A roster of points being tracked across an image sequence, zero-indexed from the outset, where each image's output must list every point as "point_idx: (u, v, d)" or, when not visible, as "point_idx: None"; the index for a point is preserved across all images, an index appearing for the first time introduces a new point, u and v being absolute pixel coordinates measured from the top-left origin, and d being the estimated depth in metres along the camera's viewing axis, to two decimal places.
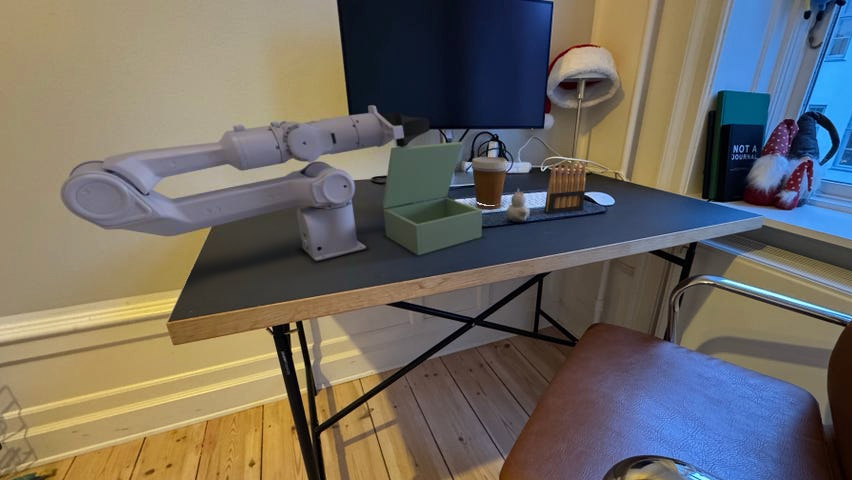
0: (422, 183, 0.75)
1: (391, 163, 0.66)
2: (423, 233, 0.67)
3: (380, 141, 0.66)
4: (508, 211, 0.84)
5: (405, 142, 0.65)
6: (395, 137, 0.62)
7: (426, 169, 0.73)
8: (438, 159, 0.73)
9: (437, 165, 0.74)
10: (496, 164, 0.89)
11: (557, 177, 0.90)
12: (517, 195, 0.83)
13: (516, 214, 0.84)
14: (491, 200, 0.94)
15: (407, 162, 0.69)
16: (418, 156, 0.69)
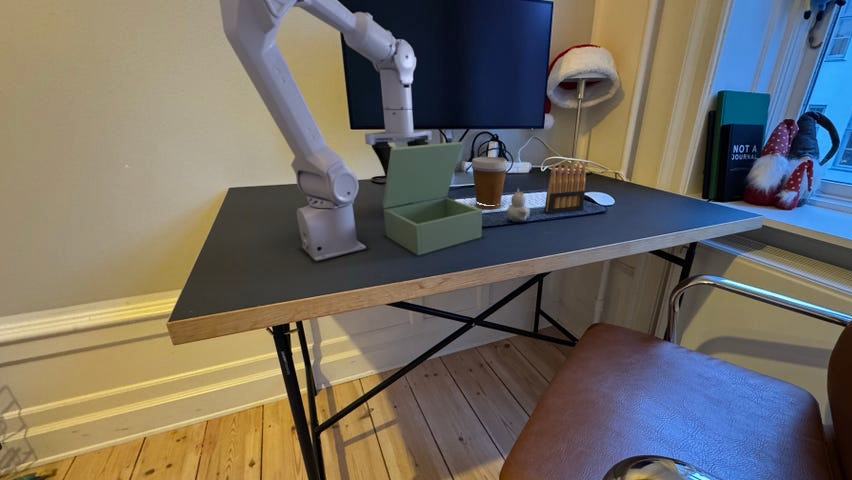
0: (422, 183, 0.75)
1: (391, 163, 0.66)
2: (423, 233, 0.67)
3: (413, 131, 0.76)
4: (508, 211, 0.84)
5: (427, 144, 0.79)
6: (430, 131, 0.80)
7: (426, 169, 0.73)
8: (438, 159, 0.73)
9: (437, 165, 0.74)
10: (496, 164, 0.89)
11: (557, 177, 0.90)
12: (517, 195, 0.83)
13: (516, 214, 0.84)
14: (491, 200, 0.94)
15: (407, 162, 0.69)
16: (418, 156, 0.69)
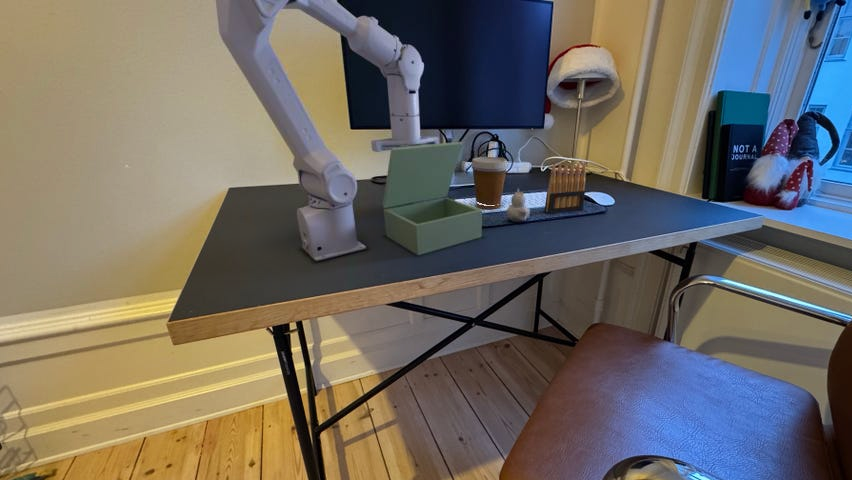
0: (422, 183, 0.75)
1: (391, 163, 0.66)
2: (423, 233, 0.67)
3: (420, 137, 0.75)
4: (508, 211, 0.84)
5: None
6: (437, 138, 0.79)
7: (426, 169, 0.73)
8: (438, 159, 0.73)
9: (437, 165, 0.74)
10: (496, 164, 0.89)
11: (557, 177, 0.90)
12: (517, 195, 0.83)
13: (516, 214, 0.84)
14: (491, 200, 0.94)
15: (407, 162, 0.69)
16: (418, 156, 0.69)
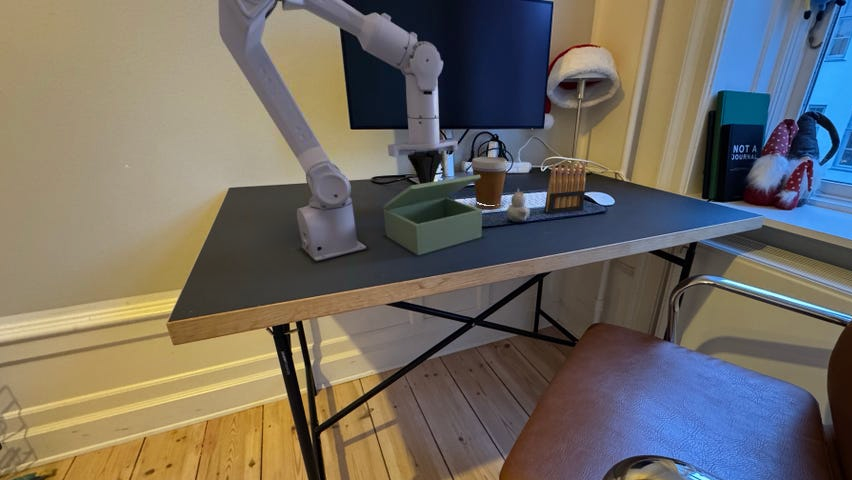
0: (427, 196, 0.74)
1: (405, 193, 0.65)
2: (423, 233, 0.67)
3: (439, 141, 0.70)
4: (508, 211, 0.84)
5: None
6: None
7: (436, 191, 0.72)
8: (451, 186, 0.72)
9: (448, 188, 0.73)
10: (496, 164, 0.89)
11: (557, 177, 0.90)
12: (517, 195, 0.83)
13: (516, 214, 0.84)
14: (491, 200, 0.94)
15: (421, 191, 0.68)
16: (434, 188, 0.68)
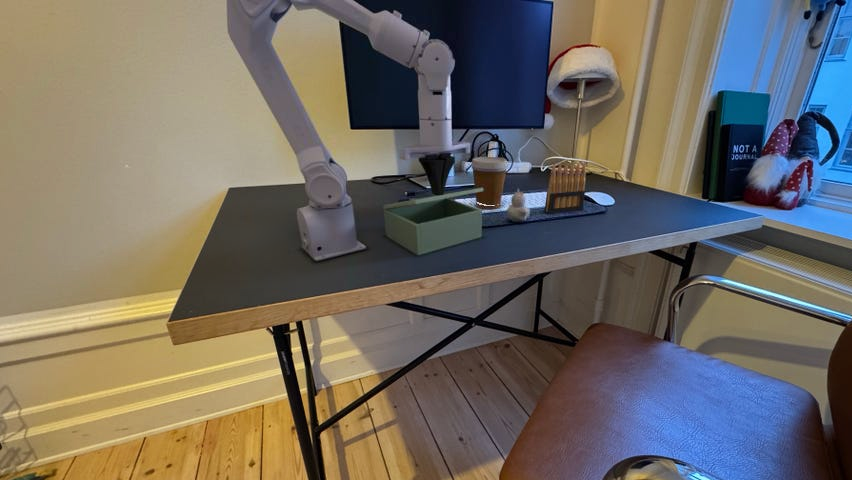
0: None
1: None
2: (423, 233, 0.67)
3: (451, 143, 0.67)
4: (508, 211, 0.84)
5: None
6: None
7: None
8: None
9: None
10: (496, 164, 0.89)
11: (557, 177, 0.90)
12: (517, 195, 0.83)
13: (516, 214, 0.84)
14: (491, 200, 0.94)
15: None
16: None
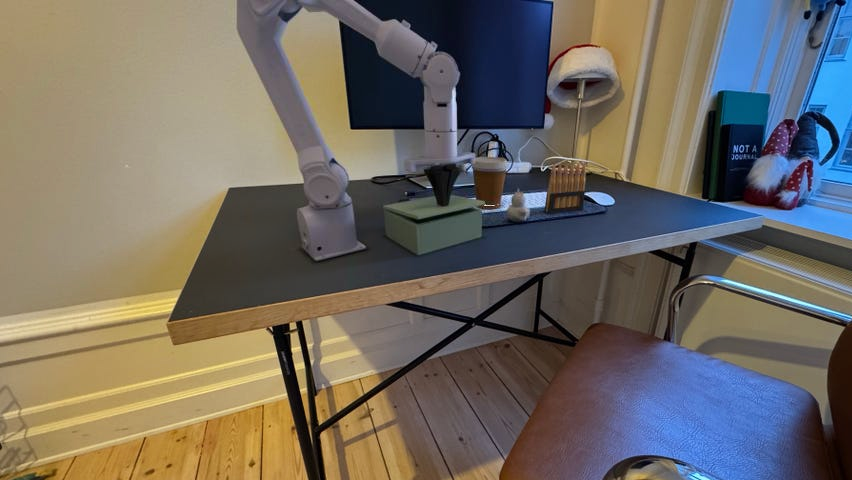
0: None
1: (410, 216, 0.66)
2: (423, 233, 0.67)
3: (456, 155, 0.67)
4: (508, 211, 0.84)
5: None
6: None
7: None
8: None
9: None
10: (496, 164, 0.89)
11: (557, 177, 0.90)
12: (517, 195, 0.83)
13: (516, 214, 0.84)
14: (491, 200, 0.94)
15: None
16: None
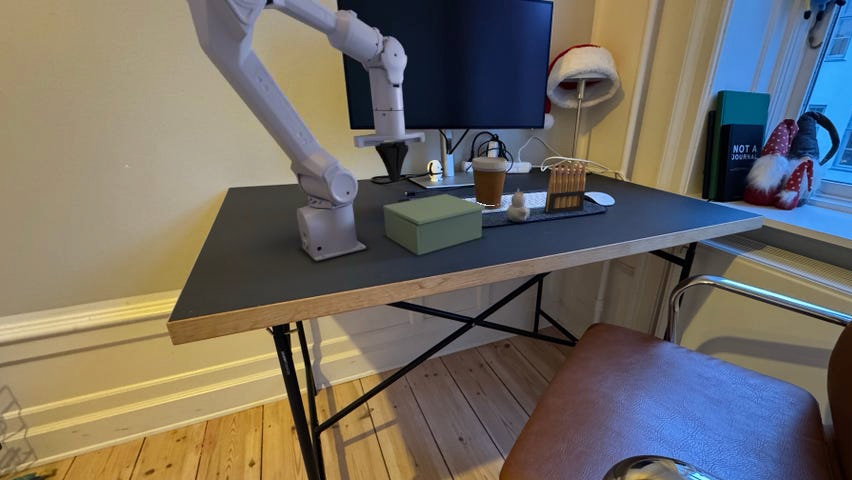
0: None
1: (410, 220, 0.67)
2: (423, 233, 0.67)
3: (404, 133, 0.73)
4: (508, 211, 0.84)
5: (408, 148, 0.74)
6: (423, 133, 0.76)
7: None
8: None
9: None
10: (496, 164, 0.89)
11: (557, 177, 0.90)
12: (517, 195, 0.83)
13: (516, 214, 0.84)
14: (491, 200, 0.94)
15: None
16: None
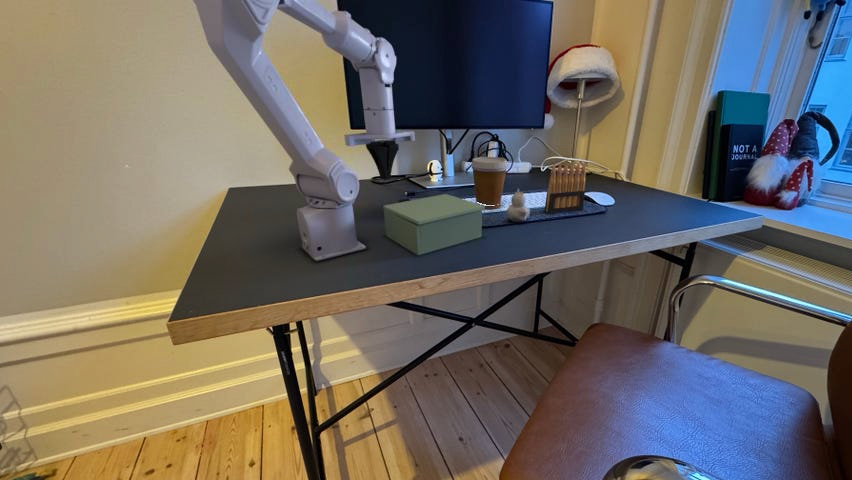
0: None
1: (410, 220, 0.67)
2: (423, 233, 0.67)
3: (395, 132, 0.74)
4: (508, 211, 0.84)
5: None
6: None
7: None
8: None
9: None
10: (496, 164, 0.89)
11: (557, 177, 0.90)
12: (517, 195, 0.83)
13: (516, 214, 0.84)
14: (491, 200, 0.94)
15: None
16: None
